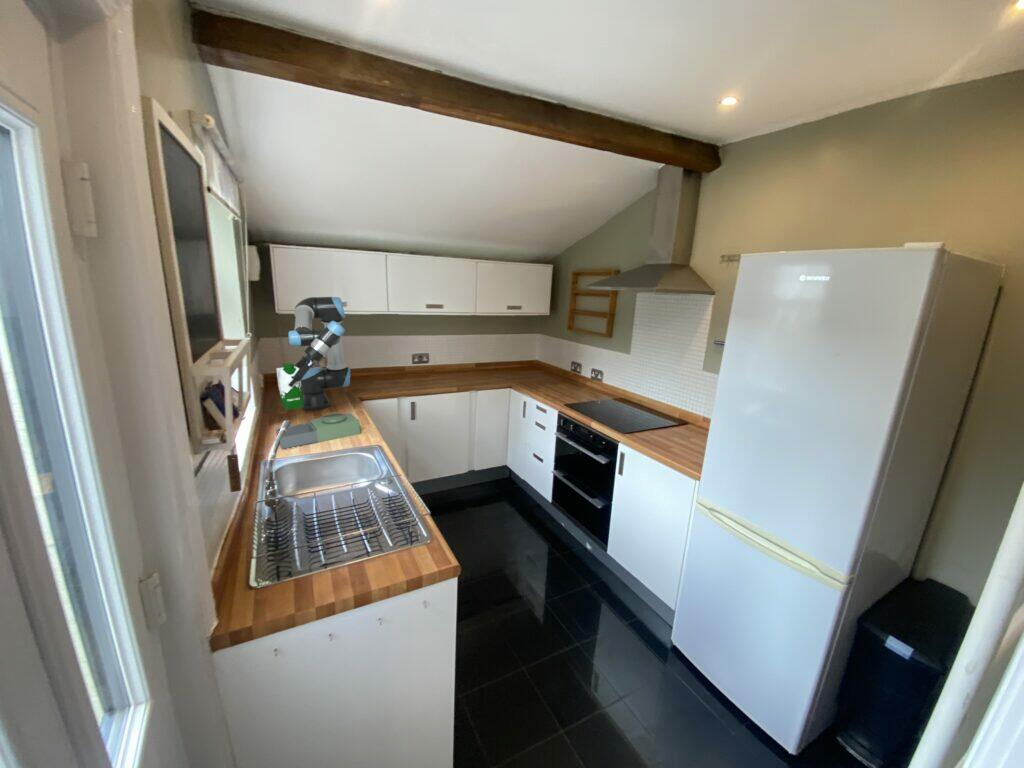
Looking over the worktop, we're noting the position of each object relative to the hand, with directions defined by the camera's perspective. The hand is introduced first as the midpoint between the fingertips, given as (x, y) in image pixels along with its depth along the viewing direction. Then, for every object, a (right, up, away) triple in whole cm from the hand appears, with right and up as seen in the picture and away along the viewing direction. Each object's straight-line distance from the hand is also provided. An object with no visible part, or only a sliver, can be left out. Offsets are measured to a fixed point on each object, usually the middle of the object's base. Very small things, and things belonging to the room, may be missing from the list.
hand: (282, 389), depth 179 cm
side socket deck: (+10, -23, +14) cm, 29 cm away
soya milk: (+3, -8, +4) cm, 10 cm away
